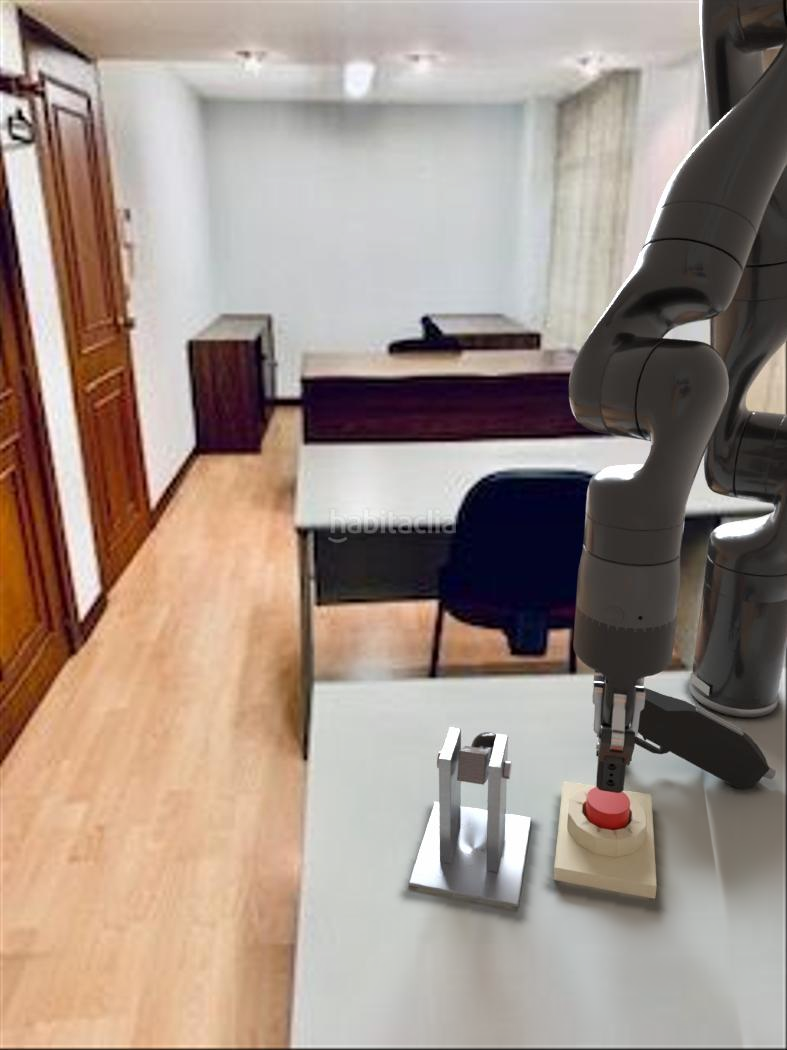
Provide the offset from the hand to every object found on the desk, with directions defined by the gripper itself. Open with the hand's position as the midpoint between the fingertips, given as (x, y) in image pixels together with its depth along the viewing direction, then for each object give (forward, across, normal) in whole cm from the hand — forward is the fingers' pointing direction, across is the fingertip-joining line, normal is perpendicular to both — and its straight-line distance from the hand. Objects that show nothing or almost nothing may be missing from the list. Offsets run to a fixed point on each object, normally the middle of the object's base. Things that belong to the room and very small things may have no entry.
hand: (609, 785), depth 65 cm
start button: (+3, 0, 0) cm, 3 cm away
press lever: (+1, -1, +11) cm, 11 cm away
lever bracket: (+7, -4, +11) cm, 14 cm away
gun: (+7, +12, -8) cm, 16 cm away
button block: (+7, 0, 0) cm, 7 cm away
